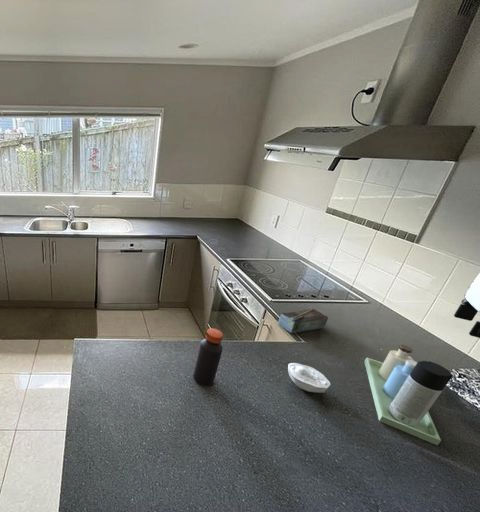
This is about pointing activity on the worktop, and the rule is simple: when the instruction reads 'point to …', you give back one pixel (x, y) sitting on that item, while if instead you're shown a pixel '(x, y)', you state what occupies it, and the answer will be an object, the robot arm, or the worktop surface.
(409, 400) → the spray can
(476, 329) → the robot arm
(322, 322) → the beverage carton
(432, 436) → the tray
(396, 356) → the cream bottle
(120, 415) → the worktop surface
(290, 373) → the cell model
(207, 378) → the vinegar
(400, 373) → the pale blue bottle
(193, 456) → the worktop surface
